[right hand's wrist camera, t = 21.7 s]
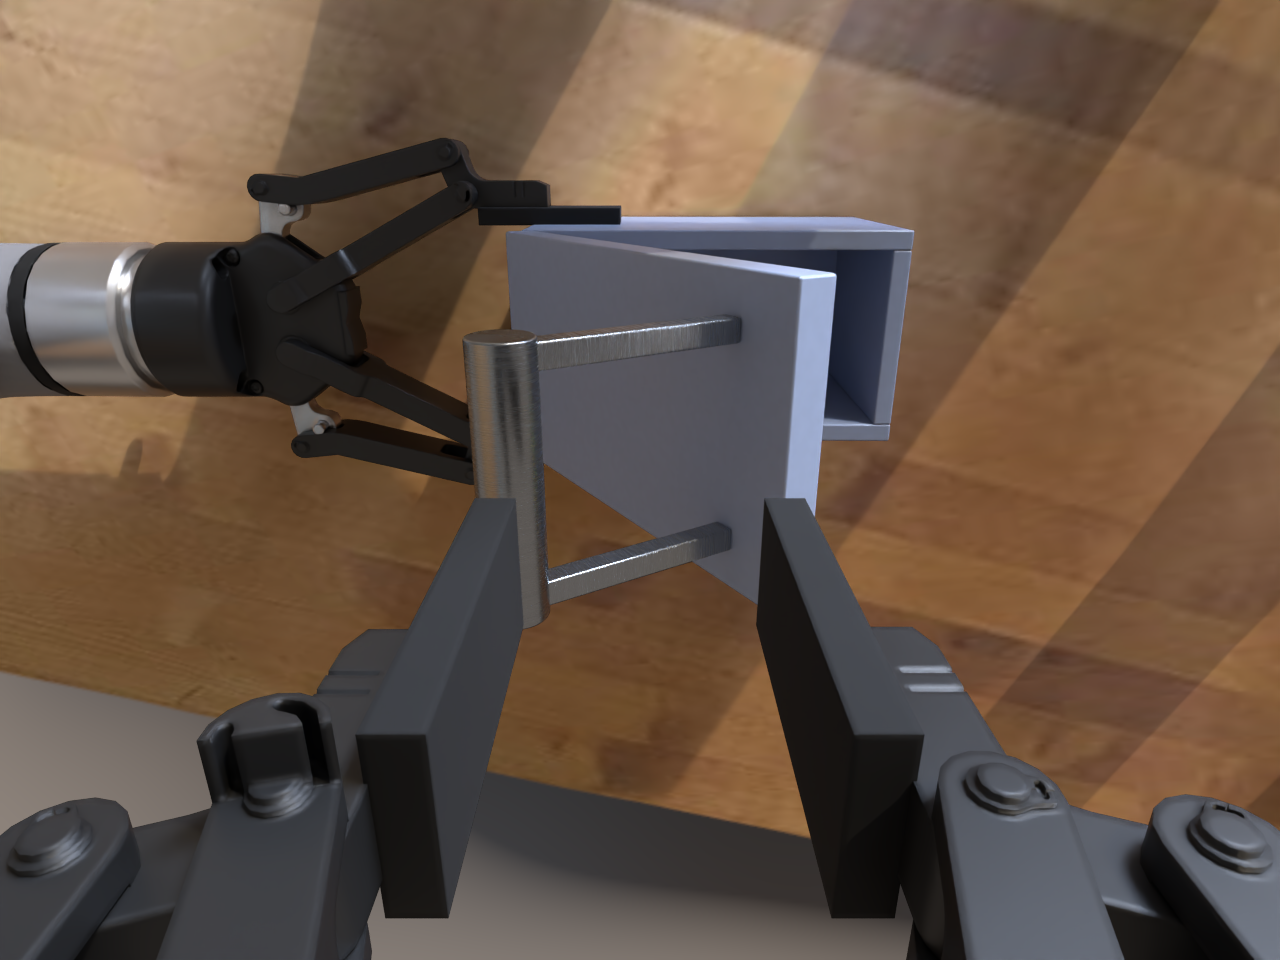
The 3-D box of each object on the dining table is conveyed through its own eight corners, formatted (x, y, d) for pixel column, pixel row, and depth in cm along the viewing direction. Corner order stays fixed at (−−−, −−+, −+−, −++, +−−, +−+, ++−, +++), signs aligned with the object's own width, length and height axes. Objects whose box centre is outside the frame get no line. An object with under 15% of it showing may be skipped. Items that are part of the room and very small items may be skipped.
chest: (851, 216, 43) (915, 230, 33) (835, 381, 46) (888, 441, 36) (551, 215, 43) (521, 229, 33) (557, 380, 47) (531, 439, 36)
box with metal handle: (838, 272, 19) (505, 302, 15) (807, 605, 22) (530, 710, 18) (532, 230, 33) (312, 239, 28) (542, 441, 36) (347, 479, 32)
